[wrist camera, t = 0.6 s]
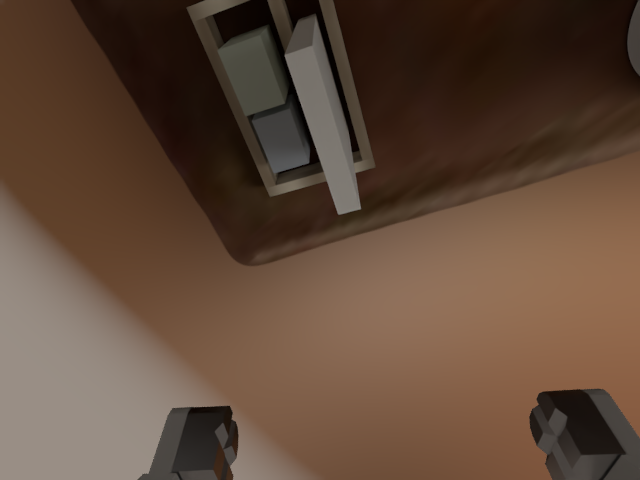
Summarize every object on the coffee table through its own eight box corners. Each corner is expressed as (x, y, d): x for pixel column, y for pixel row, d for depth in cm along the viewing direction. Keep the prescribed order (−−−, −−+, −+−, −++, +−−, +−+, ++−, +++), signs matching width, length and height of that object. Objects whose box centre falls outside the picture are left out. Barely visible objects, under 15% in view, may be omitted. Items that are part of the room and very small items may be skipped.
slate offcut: (293, 93, 43) (289, 108, 39) (310, 143, 46) (309, 163, 42) (259, 104, 44) (251, 120, 39) (278, 153, 47) (273, 173, 43)
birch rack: (321, -45, 36) (321, -46, 33) (372, 156, 47) (375, 167, 45) (195, 4, 38) (186, 7, 36) (272, 185, 49) (270, 196, 47)
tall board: (315, 13, 39) (312, 45, 24) (348, 128, 45) (360, 208, 30) (298, 19, 39) (284, 55, 24) (333, 132, 45) (338, 214, 31)
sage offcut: (269, 24, 39) (260, 34, 33) (290, 84, 42) (284, 103, 37) (232, 37, 40) (217, 50, 34) (255, 95, 43) (245, 116, 37)
